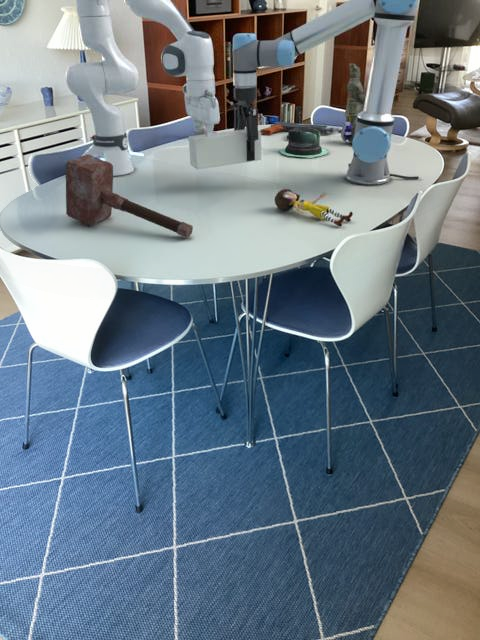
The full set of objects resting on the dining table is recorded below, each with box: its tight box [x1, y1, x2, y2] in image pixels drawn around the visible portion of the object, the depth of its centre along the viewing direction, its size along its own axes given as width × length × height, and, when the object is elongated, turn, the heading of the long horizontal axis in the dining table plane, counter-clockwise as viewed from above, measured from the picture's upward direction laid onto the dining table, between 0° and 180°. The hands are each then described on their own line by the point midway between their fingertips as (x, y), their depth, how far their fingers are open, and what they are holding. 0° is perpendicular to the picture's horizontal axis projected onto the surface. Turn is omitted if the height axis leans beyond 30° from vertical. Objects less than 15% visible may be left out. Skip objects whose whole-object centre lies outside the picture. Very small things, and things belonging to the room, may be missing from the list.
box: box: [188, 128, 262, 170], centre depth 187 cm, size 24×6×10 cm, turn 116°
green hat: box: [279, 128, 328, 159], centre depth 234 cm, size 15×19×20 cm
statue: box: [344, 62, 366, 127], centre depth 262 cm, size 11×9×30 cm
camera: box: [193, 120, 218, 136], centre depth 257 cm, size 9×12×15 cm
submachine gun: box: [259, 121, 335, 140], centre depth 264 cm, size 32×3×25 cm
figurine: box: [274, 188, 354, 227], centre depth 167 cm, size 13×8×25 cm
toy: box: [338, 121, 356, 143], centre depth 244 cm, size 9×9×15 cm
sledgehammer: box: [65, 154, 194, 239], centre depth 159 cm, size 17×10×40 cm
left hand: (203, 134), depth 182 cm, fingers open, 8 cm apart
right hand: (246, 158), depth 192 cm, fingers closed on box, 6 cm apart
